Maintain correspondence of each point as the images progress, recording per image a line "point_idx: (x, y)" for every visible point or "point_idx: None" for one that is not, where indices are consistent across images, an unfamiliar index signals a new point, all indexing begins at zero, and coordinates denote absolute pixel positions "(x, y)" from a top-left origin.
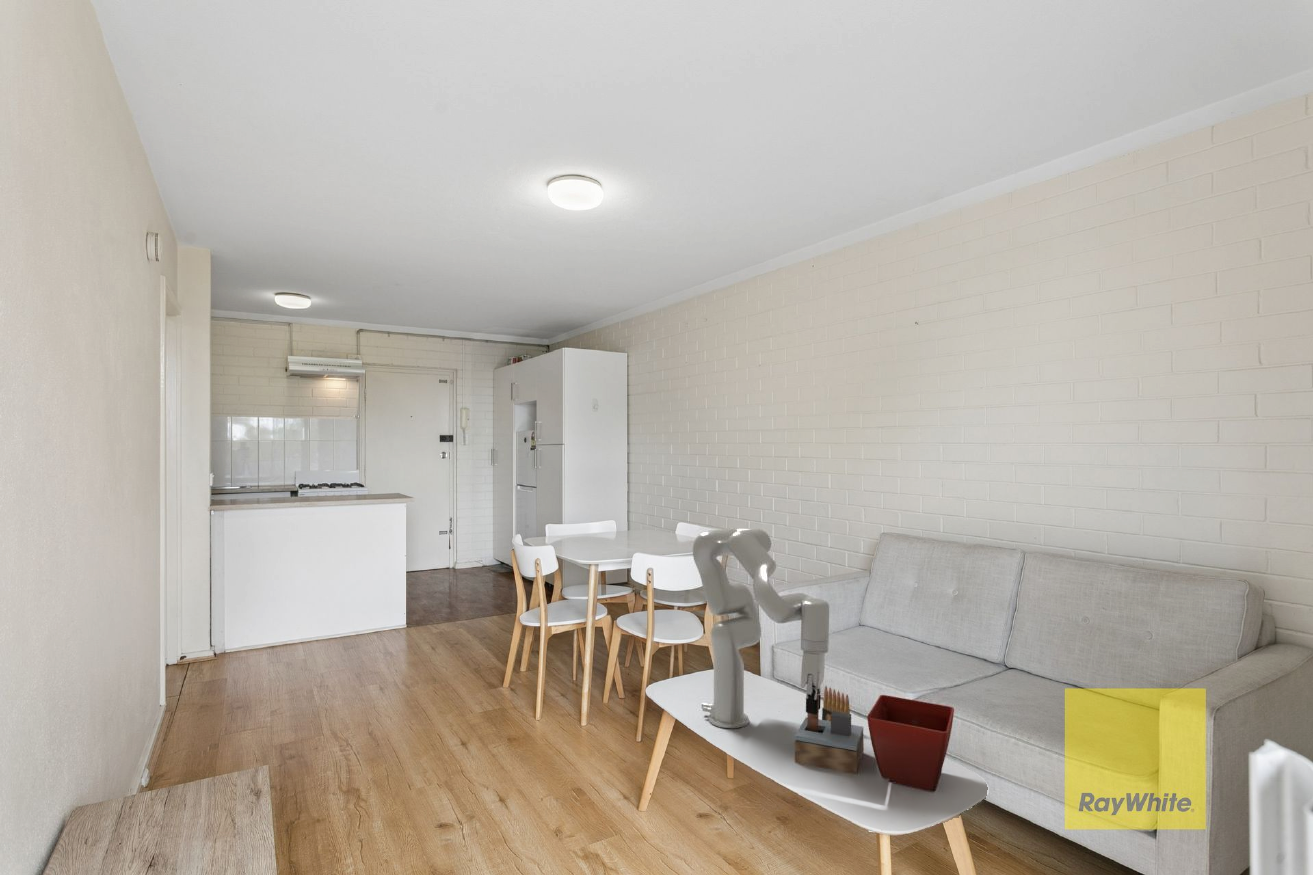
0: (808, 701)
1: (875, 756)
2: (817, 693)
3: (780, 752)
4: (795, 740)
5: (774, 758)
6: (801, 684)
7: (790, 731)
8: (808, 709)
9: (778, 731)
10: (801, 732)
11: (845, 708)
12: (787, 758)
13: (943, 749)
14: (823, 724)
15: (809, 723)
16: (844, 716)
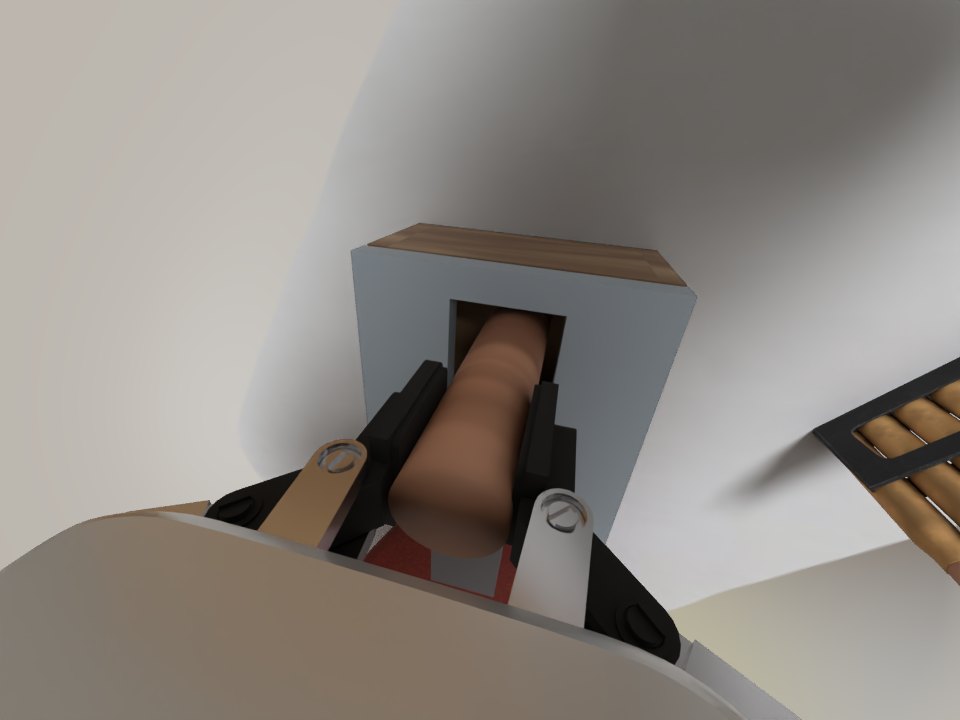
0: (359, 438)
1: (393, 527)
2: (512, 553)
3: (539, 123)
4: (374, 245)
5: (457, 104)
6: (19, 561)
7: (898, 125)
8: (393, 393)
9: (904, 26)
10: (407, 285)
11: (929, 533)
12: (481, 175)
13: None
14: (577, 403)
15: (474, 342)
16: (437, 562)
